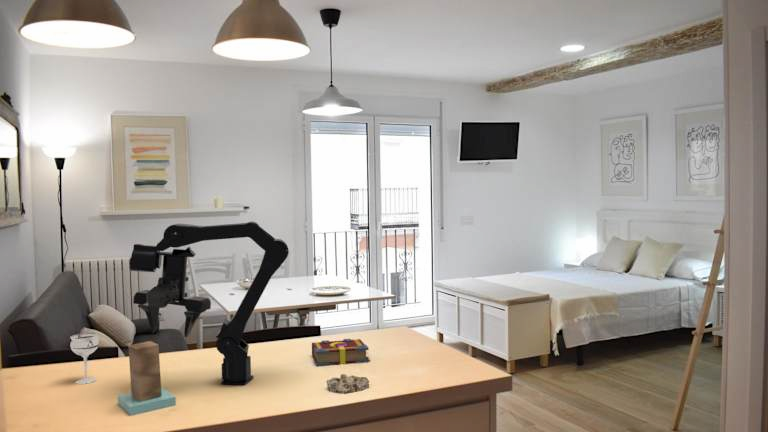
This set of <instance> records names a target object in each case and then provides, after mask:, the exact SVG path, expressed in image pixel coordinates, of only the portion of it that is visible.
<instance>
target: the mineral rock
mask: <svg viewBox="0 0 768 432" xmlns="http://www.w3.org/2000/svg"><path fill="white" fill-rule="evenodd" d="M325 382H326V385H327V386H326V387H327V389H329V391H330V392H331V393H336V394H343V395H344V394H348V393H354V392H359V391H364V390H365V389H368V388H369V386H370V380H369V379H368V377H366V376H357V375H356V376H355V375H347V374H345V373H341V374H340V378H339V377H332V378H331V379H327V380H325Z"/></svg>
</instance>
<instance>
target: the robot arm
mask: <svg viewBox="0 0 768 432" xmlns="http://www.w3.org/2000/svg"><path fill="white" fill-rule="evenodd" d="M239 238H240V239H241V238H250V239H251V240H252V241H253V242H254V243H255V244H256V245H258V246H259V248H261V249H262V250H263V251H264V253H263V257H262V260H261V262H260V266H259V269H258V270H257V273H256V274H255V277H254V278H253V279H252V282H251V284H250V285H249V288H248V289H247V290H246V293H245V295H244V297H243V299H242V300H241V302H240V304H239V305H238V308H237V310H236V311H235V313H234V315H233V316H232V317H231V318H230V320H228V319H227V318H224V320H223V322H222V326H221V327H220V328H219V330H217V333H216V335H215V339H217V340H216V342H215V346H216V350H217V351H218V353H220V354H221V355H223V359H222V362H223V363H221V381H220V384H221V385H233V386H234V385H236V386H241V385H242V386H244V385H247V383H249V382H250V381H251V380H253V379H254V377H255V376H254V375H252V366H251V365H252V361H251V360H252V359H251V358H252V357H251V355H248V353H249V347H250V345H249V344H248V343H247V342H246V341H245V340H244V339H243V335H244V332H245V329H246V325H247V324H248V322H249V319H250V317H251V316H252V314H253V312H254V310H255V308H256V306H257V304H258V303H259V300H260V299H261V297H262V295H263V293H264V292H265V290H266V288H267V285H268V284H269V282H270V280H271V278H272V277H273V275H274V274H275V273H276V272H277V270H279V268H280V267H281V266H282V264H284V262H285V261H286V260H287V258H288V256H289V251H290V250H289V247H288V244H287V243H286V241H284V240H283V239H281V238H275V237H274V236H273V235H271V234H270V233H268V231H266V230H265V229H264V228H262V227H261V225H260V224H258V222H256V221H252V220H251V221H248V222H240V223H226V224H215V225H195V224H187V223H175V224H174V223H173V224H171V225H168V226H167V227H166V229H164V231H163V238H162V239H161V240H160V241H159V242H158V243H157V244H156V245H149V244H148V245H147V244H141V243H135V244H133V250H132V253H131V257H130V258H129V270H130V271H131V272H141V273H142V272H143V273H156V271H157V269H160V268H161V267H162V271H161V273H162V274H161V276H160V277H158V279H157V285H156V286H154V287H152V288H150V289H145V290H139V291H136V292H135V294H134V295H133V299H132V304H135V305H137V308H139V309H141V310H143V312H145V313H144V314H145V315H146V318H147V320H148V325H149V328H150V331H151V333H155V332H156V331H157V327H158V321H159V314H160V309H164V308H166V307H167V306H168V305H174V306H180V307H184V308H185V309H186V311H184V312H183V314H184V316H185V323H184V338H188V337H189V335H190V333H191V332H192V330H193V327H194V326H195V324H196V322H197V320H198V319H199V317H200V316H201V314H202V313H205V312H206V311H208V310H211V306H212V305H211V304H212V302H211V300H210V297H203V296H197V295H196V296H193V297H190V298H187V297H188V292H186V283H187V282H189V276H187V268H188V267H187V265H188V258H194V257H195V256H197V255H196V253H195V251H193V250H192V248H191V246H189V245H193V244H196V243H199V242H204V241H215V240H216V241H217V240H227V239H230V240H231V239H239ZM186 246H188V247H187V248H185V249H181V248H180V247H186ZM169 248H173V249H172V252H171V251H166V250H168V249H169ZM178 248H179V249H178ZM162 259H163V260H162Z"/></svg>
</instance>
